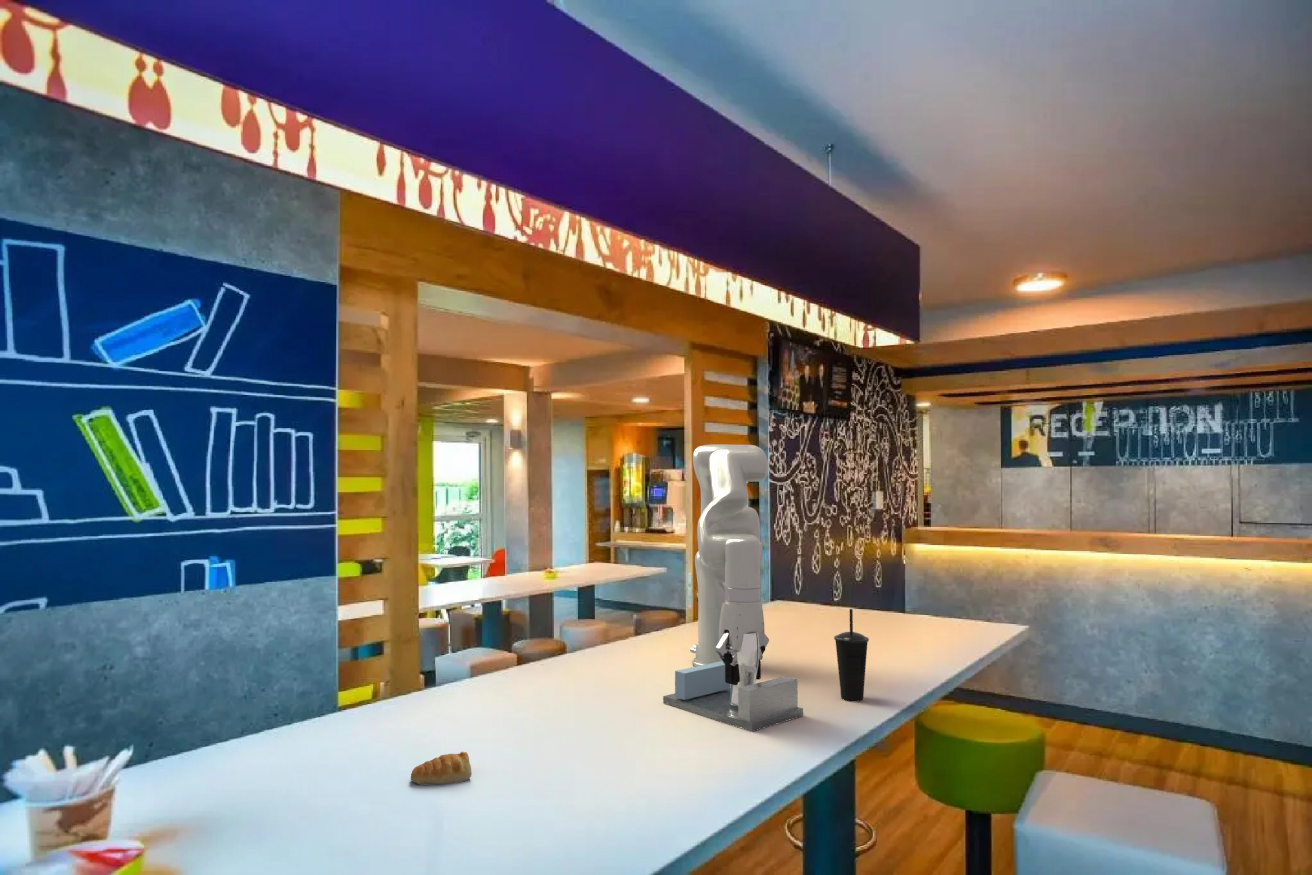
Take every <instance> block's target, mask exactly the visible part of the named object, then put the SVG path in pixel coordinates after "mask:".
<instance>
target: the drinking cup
mask: <svg viewBox="0 0 1312 875" xmlns="http://www.w3.org/2000/svg"><path fill="white" fill-rule="evenodd" d="M853 615H854V614H853V608H849V631H843V632H841V633H839V634H837V635H834V636H833V640H835V648H836V649H835V650H836V660H837V667H838V668H837V669H838V680H839V690H840V699H841V700H843V699H844V700H843V701H846V700H847V701H846V702H852V701H858V702H862V701H863V700H864V695H865V693H864V692H865V691H864V690H865V679H866V667H867V666H866V665H867V653H868V652H867V651H868V643H869V640H870V638H869V637H868V636H866V635H864V634H861V633H859V632H856V631H853V630H854V624H853V622H854V619H853V617H854V616H853Z"/></svg>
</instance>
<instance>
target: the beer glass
mask: <svg viewBox="0 0 1312 875" xmlns="http://www.w3.org/2000/svg"><path fill="white" fill-rule="evenodd" d="M729 649H732V645H731V644H730V643H729ZM759 654H760V649H759V634H758V631H757V632H756V633H751V634H744V636H743V642H742V647H741V651H739V652H737V662H736V665H737V666H738V685H732V684H730V695H729V703H730V704H731V705H734V706H738V688H740V687H744V686H748V685H752V684H756V683H757V679H756V677H757V671H758V665H759ZM729 655H730V657H731V658H732V655H733V653H732V652H729Z"/></svg>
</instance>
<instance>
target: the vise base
mask: <svg viewBox="0 0 1312 875" xmlns="http://www.w3.org/2000/svg"><path fill="white" fill-rule="evenodd" d="M798 682H799V681H798V678H796V677H792V676H787V675H786V676H782V677H781V676H780V677H777V678H773V679H768V680H765V681H761V682H756V684H752V685H748V686H744V687H740V688H738V706H734V705H731V704H730V703H729V695H730V689H727V690H723V691H718V692H714V693H710V694H706V695H702V696H698V697H694V698H690V699H686V700H683V699H680V698H677V697H675V692H674V693H672V694H666V695H663V697H662V700H663V704H666V705H668V706H671V707H675V708H677V709H681V710H683V711H686V712H690V713H691V714H692V713H693V714H696V715H699V716H703V717H706V718H708V719H711V718H712V719H711V720H714V719H716V720H715V721H717V720H719V721H718V722H720V721H721V722H720V723H723V722H724V723H725V724H727V723H729V724H728V725H730V724H731V725H730V726H733V725H734V726H733V727H736V726H737V727H736V728H739V727H742V728H744V729H743V730H745V729H746V731H748V730H749V731H748V732H751V731H752V732H754V731H755V732H756V731H758V730H757V729H759V728H762V729H764V728H763V727H765V728H768V727H771V726H770V725H772V726H774V725H773V724H775V725H777V724H776V723H778V724H781V723H784V721H785V722H787V721H786V720H788V721H790V720H789V719H791V720H793V719H792V718H794V719H797V718H796V717H798V718H800V717H799V716H801V717H803V716H804V708H803V707H800V706H798V704H799V702H798V701H799V700H798V699H799V698H798V695H799V694H798V693H799V692H798V689H799V688H798ZM802 715H803V716H802ZM742 728H741V729H742ZM759 730H760V729H759Z"/></svg>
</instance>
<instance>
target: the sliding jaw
mask: <svg viewBox="0 0 1312 875" xmlns="http://www.w3.org/2000/svg"><path fill="white" fill-rule="evenodd" d="M674 686H675V687H674V693H675V697H677V698H680V699H683V700H686V699H690V698H694V697H698V696H702V695H706V694H710V693H714V692H718V691H723V690H727V689H730V688H731V684H728V683H726V682H725V664H724V663H723V662H722V661H720V662H715V663H710V664H706V665H701V666H696V667H695V666H692V667H688V668H683V669H682V668H681V669H679V670H678V669H677V670H675V672H674Z"/></svg>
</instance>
